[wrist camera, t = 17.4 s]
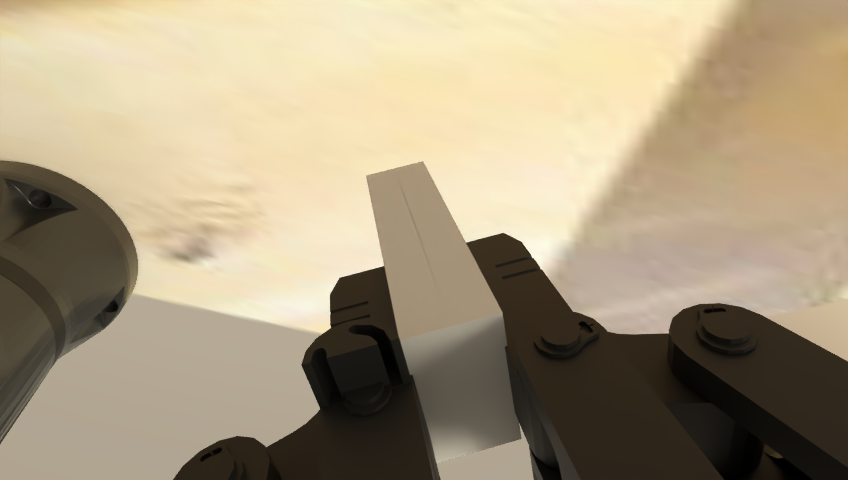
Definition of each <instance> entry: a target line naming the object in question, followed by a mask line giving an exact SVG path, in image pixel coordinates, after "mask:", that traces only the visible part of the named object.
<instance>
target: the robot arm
mask: <svg viewBox="0 0 848 480" xmlns="http://www.w3.org/2000/svg"><path fill="white" fill-rule="evenodd" d="M366 177H367V182H368V187H369V192H370V197H371V202H372V207H373V212H374V217H375V222H376V227H377V232H378V237H379V242H380V247H381V252H382V257H383V261H384V266H383V267H379V268H375V269H372V270H368V271H364V272H360V273H357V274H353V275H349V276H345V277H341V278H339V280H338V282H337V284H336V285H335V287H334V289H333V290H332V292H331V294H330V312H331V314H330V325H331V329H329V330H328V331H326V332H325V333H323V334H322V335H321V336H319V337H318V338H316V339H315V341H314V342H313V343H312V344H311V346H310V347H309V348H308V349H307V350H306V352H305V355H304V359H303V362H302V367H303V370H304V372H305V374H306V377H307V379H308V381H309V384H310V385H311V388H312V390H313V393H314V395H315V397H316V400H317V402H318V404H319V406H320V410H319V411H318V413H317V414H316V415H315V416H314V417H313V418H312V419H310V420H309V421H308V422H307V423H306V424H305V425H303V426H302V427H300V428H299V429H297V430H296V431H294V432H293V433H291V434H289V435H287V436H286V437H284V438H282V439H280V440H279V441H277V442H275V443H273V444H271V445H270V446H268V447H265V446H264V445H263V444H261V443H260V442H259V441H257V440H256V439H254V438H250V437H241V436H236V437H233V438H228V439H224V440H220V441H218V442H216V443H214V444H212V445H210V446H209V447H207V448H205V449H203V450H201V451H200V452H199V453H197V454H196V455H195V456H194V457H193V458H192V459H191V460H189V461H188V462H187V463H186V464H185V465H184V466H183V467H182V468H181V470H180V471H179V472H178V474H177V475H176V476H175V478H174V479H173V480H440V476H439V472H438V468H437V463H440V462H443V461H446V460H450V459H453V458H457V457H460V456H464V455H467V454H470V453H474V452H477V451H481V450H485V449H487V448H491V447H495V446H498V445H501V444H505V443H509V442H512V441H516V440H519V439H521V433H520V426H519V423H520V425H521V427H522V430H523V432H524V435H525V437H526V439H527V442H528V444H529V449H530V456H531V463H532V471H533V477H534V480H848V361H846V360H844V359H842V358H840V357H839V356H837V355H835V354H833V353H831V352H829V351H827V350H825V349H824V348H822V347H820V346H818V345H816V344H814V343H812V342H811V341H809V340H807V339H805V338H803V337H801V336H799V335H797V334H795V333H794V332H792V331H790V330H788V329H786V328H784V327H783V326H781V325H779V324H777V323H775V322H773V321H771V320H770V319H768V318H766V317H764V316H762V315H760V314H757V313H755V312H752V311H750V310H747V309H745V308H742V307H738V306H732V305H726V304H721V303H716V304H699V305H695V306H692V307H689V308H686V309H683V310H682V311H681V312H679V313H678V314H677V315H676V316H675V317H673V319H672V322H671V325H670V329H669V334H637V335H630V334H616V333H611V332H607V330H606V329H605V328H604V327H603V326H601V325H600V324H599V323H598V322H597V321H595V320H594V319H593V318H590V317H588V316H585V315H583V314H580V313H577V312H573V311H572V310H571V308H570V307H569V306H568V304H567V303H566V302H565V300H564V299H563V298H562V296H561V295H560V294H559V292H558V291H557V289H556V288H555V287H554V285H553V284H552V283H551V281H550V280H549V279H548V277H547V276H546V275H545V273H544V272H543V271H542V270H540V266H539V265H538V264H537V262H536V261H535V260H534V258H532V256H531V254H530V253H529V252H528V250H527V249H526V247H525V246H524V245H523V243H522V242H521V241H519V240H517V239H515V238H513V237H511V236H509V235H507V234H505V233H501V234H498V235H494V236H490V237H486V238H482V239H479V240H475V241H471V242H467V243H466V242H465V240H464V238H463V236H462V235H461V233H460V231H459V229H458V227H457V225H456V223H455V221H454V219H453V217H452V216H451V214H450V212H449V210H448V208H447V206H446V204H445V202H444V200H443V198H442V197H441V195H440V193H439V191H438V189H437V187H436V185H435V183H434V181H433V179H432V178H431V176H430V174H429V172H428V170H427V168H426V166H425V164H424V162H419V163H415V164H411V165H407V166H403V167H399V168H395V169H391V170H387V171H383V172H379V173H375V174H371V175H367V176H366ZM137 275H138V259H137V253H136V249H135V246H134V243H133V240H132V238H131V236H130V234H129V232H128V230H127V228H126V227H125V225H124V224H123V222H122V221H121V219H120V218H119V217H118V216H117V214H116V213H115V212H114V211H113V210H112V209H111V208H110V207H109V206H108V205H107V204H106V203H105V202H104V201H103V200H102V199H100V198H99V197H98V196H97V195H95V194H94V193H93V192H91V191H90V190H89V189H87V188H85V187H84V186H82V185H81V184H79V183H77V182H75V181H74V180H72V179H70V178H68V177H65V176H63V175H61V174H58V173H56V172H53V171H51V170H48V169H44V168H41V167H37V166H33V165H29V164H24V163H17V162H7V161H0V444H1V442H2V441H3V439H4V438H5V436H6V435H7V433H8V432H9V430H10V429H11V427H12V426H13V424H14V423H15V421H16V420H17V418H18V417H19V415H20V414H21V412H22V411H23V409H24V408H25V406H26V405H27V403H28V402H29V401H30V399H31V397H32V396H33V395H34V393H35V392H36V390H37V389H38V387H39V386H40V384H41V383H42V381H43V380H44V378H45V377H46V375H47V374H48V372H49V370H50V369H51V368H52V366H53V365H54V364H55V362H56V361H57V359H59V358H60V357H62V356H63V355H65V354H67V353H68V352H70V351H71V350H73V349H74V348H76V347H77V346H79V345H80V344H82V343H84V342H85V341H87V340H88V339H90V338H91V337H93V336H94V335H96V334H97V333H99V332H101V331H102V330H103V329H105V328H106V327H107V326H108V325H109V324H110V323H111V322H112V321H113V320H114V319H115V318H116V316H117V315H118V314H119V313H120V311H121V310H122V308H123V306H124V305H125V303H126V302H127V300H128V299H129V297H130V295H131V294H132V292H133V289H134V287H135V284H136V280H137Z"/></svg>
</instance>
